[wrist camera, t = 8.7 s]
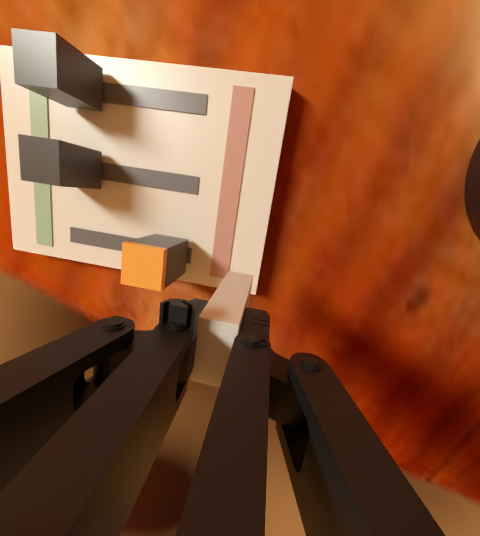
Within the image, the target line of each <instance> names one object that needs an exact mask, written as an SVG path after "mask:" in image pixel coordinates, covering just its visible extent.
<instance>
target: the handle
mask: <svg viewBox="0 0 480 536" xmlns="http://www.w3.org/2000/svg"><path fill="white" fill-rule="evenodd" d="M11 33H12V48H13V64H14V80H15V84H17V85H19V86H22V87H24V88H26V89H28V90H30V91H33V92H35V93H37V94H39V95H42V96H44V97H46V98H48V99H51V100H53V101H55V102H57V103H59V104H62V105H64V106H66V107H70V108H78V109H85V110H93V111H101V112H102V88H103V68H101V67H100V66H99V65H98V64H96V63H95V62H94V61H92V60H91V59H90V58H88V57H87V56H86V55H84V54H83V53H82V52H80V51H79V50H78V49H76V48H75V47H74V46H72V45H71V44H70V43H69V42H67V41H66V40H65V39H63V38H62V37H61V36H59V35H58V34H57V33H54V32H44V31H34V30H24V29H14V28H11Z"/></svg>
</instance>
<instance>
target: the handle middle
mask: <svg viewBox="0 0 480 536" xmlns="http://www.w3.org/2000/svg"><path fill="white" fill-rule="evenodd" d="M18 143H19V159H20V174H21V180H23V181H29V182H36V183H42V184H48V185H54V186H61V187H75V188H90V189H101V173H102V152H100V151H97V150H93V149H90V148H86V147H83V146H79V145H76V144H72V143H69V142H65V141H61V140H57V139H50V138H43V137H36V136H29V135H22V134H18Z"/></svg>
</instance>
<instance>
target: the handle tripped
mask: <svg viewBox="0 0 480 536" xmlns="http://www.w3.org/2000/svg"><path fill="white" fill-rule="evenodd" d="M188 240H189V239H183V238H177V237H171V236H166V235H160V234H152V235H148V236H145V237H141V238H137V239H133V240H129V241H125V242H122V259H121V284H125V285H130V286H135V287H140V288H145V289H150V290H156V291H162V290H163V289H165V288H166V287H167V286H169V285H170V284H171V283H173V282H174V281H175V280H177V279H178V278H179V277H180V276H182V275H183V274H184V273H185V270H186V260H187V250H188Z"/></svg>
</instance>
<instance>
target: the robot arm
mask: <svg viewBox="0 0 480 536" xmlns="http://www.w3.org/2000/svg"><path fill="white" fill-rule="evenodd" d="M465 204H466V210H467V214H468V218H469V220H470V223H471V225H472V227H473V229H474V231H475V233H476V235H477V236H478V237H479V239H480V140H479V142H478V144H477V146H476V148H475V150H474V153H473V155H472V158H471V160H470V164H469V167H468V171H467V176H466V182H465ZM252 281H253V275H249V274H244V273H238V272H233V271H228V273H227V274H226V276H225V277H224V279H223V280H222V282H221V283H220V285H219V286H218V288H217V289H216V291H215V292H214V294H213V296H212V297H211V299H210V300H209V301H206V300H201V299H193V300H191V301H188V300H184V299H169V300H164V301H163V302H161V303H160V316H159V324H158V325H157V326H156V327H155V328H154V329H153V330H150V331H141V330H135V324H134V322H133V321H132V320H130V319H128V318H124V317H118V316H114V317H110V318H105V319H102V320H99V321H97V322H95V323H92V324H90V325H88V326H86V327H84V328H81V329H79V330H77V331H75V332H73V333H70V334H68V335H66V336H63V337H61V338H59V339H57V340H55V341H52V342H50V343H48V344H46V345H44V346H42V347H39V348H37V349H34V350H32V351H30V352H28V353H26V354H24V355H21V356H19V357H17V358H14V359H12V360H10V361H8V362H6V363H3V364H1V365H0V536H120V534H121V532H122V529H123V527H124V525H125V523H126V521H127V519H128V516H129V514H130V511H131V510H132V508H133V506H134V503H135V501H136V499H137V497H138V495H139V493H140V490H141V488H142V486H143V484H144V482H145V479H146V477H147V475H148V473H149V471H150V468H151V466H152V464H153V461H154V460H155V458H156V456H157V453H158V451H159V449H160V447H161V445H162V443H163V440H164V438H165V436H166V434H167V432H168V430H169V427H170V425H171V423H172V421H173V419H174V417H175V414H176V412H177V410H178V408H179V406H180V403H181V401H182V399H183V397H184V395H185V393H186V391H187V385H188V378H189V375H190V374H191V371H192V375H191V381H192V382H197V383H202V384H206V385H211V386H215V387H220V389H219V392H218V395H217V399H216V402H215V405H214V409H213V412H212V415H211V419H210V422H209V425H208V429H207V432H206V435H205V439H204V442H203V445H202V449H201V452H200V456H199V459H198V462H197V466H196V469H195V472H194V476H193V479H192V482H191V486H190V489H189V492H188V496H187V499H186V502H185V506H184V509H183V512H182V516H181V519H180V522H179V526H178V529H177V532H176V536H265V505H266V475H267V446H268V445H267V444H268V417H269V418H271V419H273V420H275V421H276V429H277V433H278V436H279V440H280V444H281V448H282V451H283V454H284V458H285V462H286V465H287V469H288V472H289V476H290V480H291V483H292V487H293V490H294V494H295V498H296V501H297V505H298V508H299V512H300V515H301V519H302V523H303V526H304V530H305V534H306V536H445V535H444V533H443V531H442V530H441V529H440V527H439V526H438V524H437V523H436V521H435V520H434V518H433V517H432V515H431V514H430V512H429V511H428V509H427V508H426V506H425V505H424V504H423V502H422V501H421V499H420V498H419V496H418V495H417V493H416V492H415V491H414V489H413V487H412V486H411V485H410V483H409V482H408V480H407V479H406V477H405V476H404V474H403V473H402V471H401V470H400V468H399V467H398V465H397V464H396V463H395V461H394V460H393V458H392V457H391V455H390V454H389V452H388V451H387V449H386V448H385V446H384V445H383V444H382V442H381V441H380V439H379V438H378V436H377V435H376V433H375V432H374V430H373V429H372V427H371V426H370V424H369V423H368V422H367V420H366V419H365V417H364V416H363V414H362V413H361V411H360V410H359V408H358V407H357V405H356V404H355V402H354V401H353V400H352V398H351V397H350V395H349V394H348V392H347V391H346V389H345V388H344V386H343V385H342V383H341V382H340V381H339V379H338V378H337V376H336V375H335V373H334V372H333V370H332V369H331V367H330V366H329V365H328V364H327V363H326V362H325V361H324V360H323V359H321V358H319V357H318V356H316V355H313V354H310V353H296V354H294V355H292V356H291V358H290V360H289V359H286V358H284V357H282V356H280V355H278V354H276V353H275V352H274V351H273V350H272V349H271V344H270V341H269V328H270V327H269V326H270V316H269V314H268V313H267V312H266V311H263V310H258V309H252V308H248V305H249V299H250V293H251V287H252ZM91 367H93V376H92V377H90V378H89V379H87V380H85V379H84V372H85V371H86V370H88V369H89V368H91Z"/></svg>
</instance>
